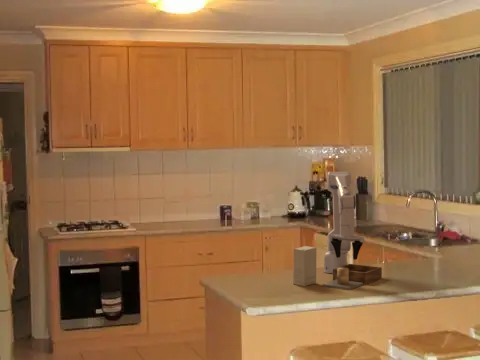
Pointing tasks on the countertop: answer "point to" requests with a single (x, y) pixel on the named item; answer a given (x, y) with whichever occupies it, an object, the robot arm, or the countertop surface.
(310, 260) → the skincare box
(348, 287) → the slate tile
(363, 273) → the walnut crate
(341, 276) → the maple spool
